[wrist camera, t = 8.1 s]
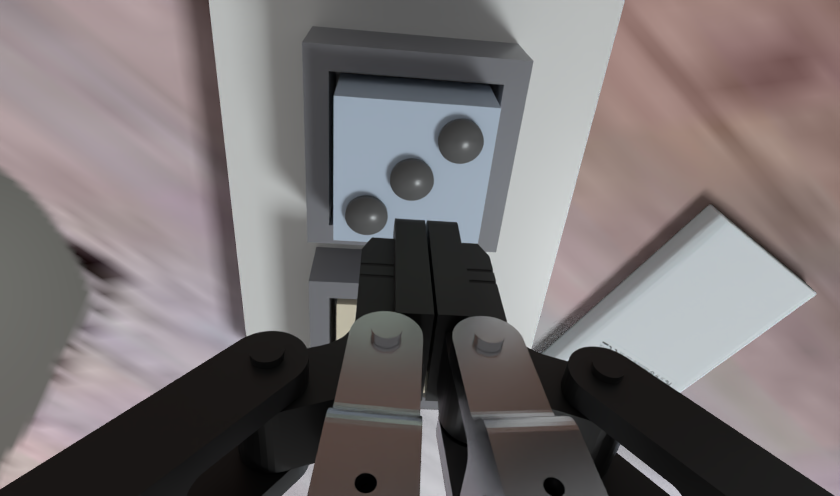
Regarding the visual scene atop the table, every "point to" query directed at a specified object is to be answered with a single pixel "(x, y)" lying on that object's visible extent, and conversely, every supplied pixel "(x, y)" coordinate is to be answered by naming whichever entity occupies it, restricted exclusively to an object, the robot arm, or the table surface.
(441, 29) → the button panel
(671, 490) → the table surface
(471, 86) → the button three
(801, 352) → the table surface
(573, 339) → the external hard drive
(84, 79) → the table surface
